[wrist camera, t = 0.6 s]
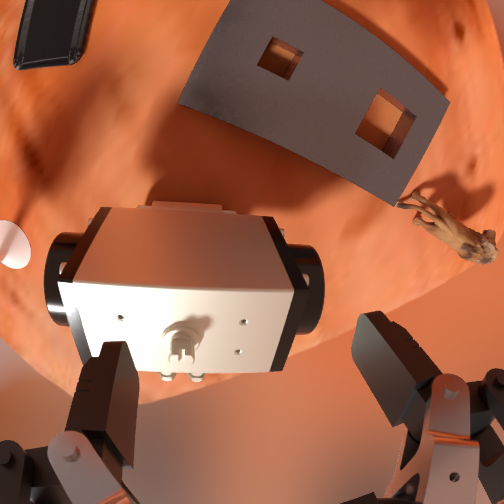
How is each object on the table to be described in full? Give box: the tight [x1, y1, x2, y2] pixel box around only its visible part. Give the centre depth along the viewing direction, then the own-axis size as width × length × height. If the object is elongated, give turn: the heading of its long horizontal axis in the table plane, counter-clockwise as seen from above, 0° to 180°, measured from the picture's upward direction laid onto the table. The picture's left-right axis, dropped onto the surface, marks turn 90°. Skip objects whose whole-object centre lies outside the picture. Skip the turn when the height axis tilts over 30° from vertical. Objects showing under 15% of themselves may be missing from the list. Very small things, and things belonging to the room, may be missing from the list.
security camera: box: [44, 201, 325, 382], centre depth 23 cm, size 18×8×18 cm, turn 81°
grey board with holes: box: [178, 0, 450, 207], centre depth 24 cm, size 14×24×2 cm, turn 64°
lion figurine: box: [397, 191, 498, 264], centre depth 32 cm, size 15×5×9 cm, turn 76°
